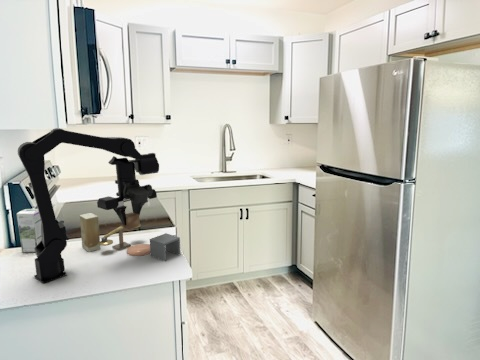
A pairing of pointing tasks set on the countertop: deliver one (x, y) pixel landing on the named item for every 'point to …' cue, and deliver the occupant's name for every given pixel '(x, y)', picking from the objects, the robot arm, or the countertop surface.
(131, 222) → the walnut block
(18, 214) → the syrup box
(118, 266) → the countertop surface
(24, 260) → the countertop surface
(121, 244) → the balance
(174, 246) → the cover
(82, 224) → the skincare box
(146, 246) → the dish
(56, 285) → the countertop surface
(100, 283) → the countertop surface
